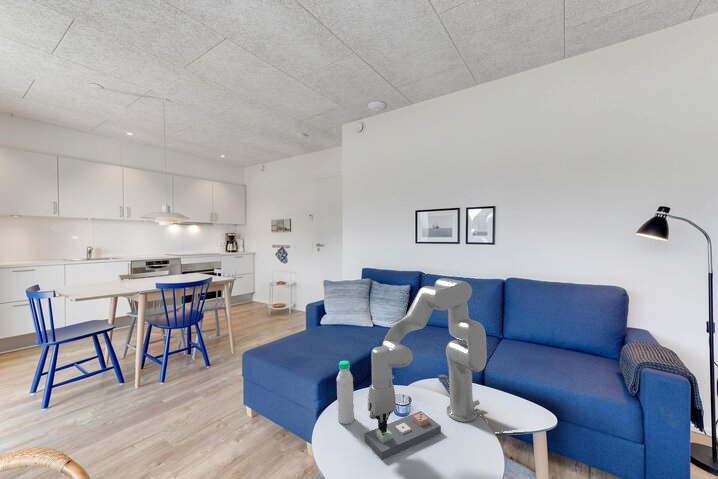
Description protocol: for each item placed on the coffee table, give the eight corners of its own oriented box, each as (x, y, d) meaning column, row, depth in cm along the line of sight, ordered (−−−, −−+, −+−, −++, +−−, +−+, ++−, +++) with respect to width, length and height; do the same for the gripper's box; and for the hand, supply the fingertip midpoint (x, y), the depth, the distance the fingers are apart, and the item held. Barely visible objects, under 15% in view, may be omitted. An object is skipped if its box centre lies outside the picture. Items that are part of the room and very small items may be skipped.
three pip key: (421, 421, 125) (421, 412, 125) (428, 426, 121) (428, 417, 121) (413, 424, 122) (413, 415, 122) (420, 430, 119) (420, 421, 119)
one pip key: (404, 431, 120) (404, 422, 120) (411, 437, 116) (411, 428, 116) (395, 435, 118) (395, 426, 118) (402, 441, 114) (401, 432, 114)
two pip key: (385, 436, 116) (385, 426, 116) (392, 442, 112) (391, 433, 112) (376, 440, 114) (375, 430, 114) (382, 447, 110) (382, 437, 110)
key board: (420, 417, 129) (420, 411, 129) (441, 433, 119) (440, 425, 119) (364, 441, 116) (364, 433, 116) (381, 460, 105) (381, 452, 105)
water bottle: (339, 426, 125) (337, 366, 125) (336, 416, 132) (334, 359, 132) (355, 423, 127) (354, 364, 127) (352, 413, 134) (350, 358, 134)
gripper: (392, 373, 120) (393, 419, 120) (359, 382, 112) (360, 431, 112) (403, 380, 113) (404, 429, 113) (370, 390, 106) (370, 443, 106)
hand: (382, 430), depth 113 cm, fingers closed
